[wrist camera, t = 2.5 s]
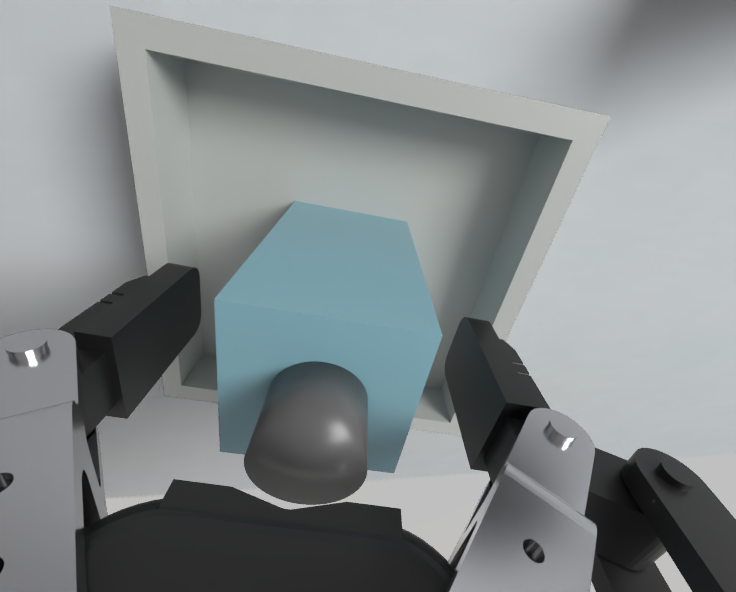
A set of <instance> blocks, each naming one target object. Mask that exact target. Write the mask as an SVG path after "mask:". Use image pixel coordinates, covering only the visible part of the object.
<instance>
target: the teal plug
mask: <svg viewBox="0 0 736 592" xmlns="http://www.w3.org/2000/svg"><path fill="white" fill-rule="evenodd" d="M214 306H215V332H216V358H217V384H218V410H219V437H220V451H221V452H229V453H237V454H245V457H244V467H245V470H246V473H247V475H248V477H249V478H250V479H251V481H252V482H253V483H254V484H255V485H256V486H257V487H258V488H260V489H261V490H262V491H264V492H266V493H267V494H269V495H271V496H273V497H276V498H278V499H281V500H284V501H287V502H292V503H298V504H307V505H316V504H326V503H331V502H335V501H338V500H341V499H344V498H346V497H348V496H350V495H351V494H353V493H354V492H355V491H357V490H358V489H359V488H360V487H361V486H362V484H363V482H364V481H365V478H366V475H367V470H373V471H381V472H389V473H394V471H395V468H396V466H397V463H398V460H399V457H400V454H401V452H402V449H403V446H404V443H405V440H406V437H407V435H408V432H409V429H410V426H411V423H412V420H413V418H414V415H415V412H416V409H417V406H418V404H419V401H420V398H421V395H422V392H423V389H424V387H425V384H426V381H427V378H428V375H429V372H430V370H431V367H432V364H433V361H434V358H435V356H436V353H437V350H438V347H439V344H440V341H441V339H442V336H443V335H442V332H441V329H440V326H439V323H438V319H437V316H436V313H435V310H434V307H433V303H432V300H431V297H430V294H429V291H428V287H427V284H426V281H425V278H424V275H423V271H422V268H421V265H420V262H419V259H418V255H417V252H416V249H415V246H414V243H413V239H412V236H411V233H410V230H409V227H408V223H407V221H401V220H396V219H390V218H385V217H380V216H374V215H369V214H363V213H358V212H353V211H347V210H342V209H337V208H331V207H326V206H320V205H315V204H310V203H304V202H299V201H295V202H294V203H293V204H292V205H291V207H290V208H289V209H288V210H287V211H286V213H285V214H284V215H283V216H282V218H281V219H280V220H279V221H278V222H277V224H276V225H275V226H274V227H273V228H272V230H271V231H270V232H269V233H268V235H267V236H266V237H265V238H264V239H263V241H262V242H261V243H260V244H259V245H258V247H257V248H256V249H255V250H254V252H253V253H252V254H251V255H250V256H249V258H248V259H247V260H246V261H245V262H244V264H243V265H242V266H241V267H240V269H239V270H238V271H237V272H236V273H235V275H234V276H233V277H232V278H231V279H230V281H229V282H228V283H227V284H226V286H225V287H224V288H223V289H222V290H221V292H220V293H219V294H218V295H217V296H216V298H215V299H214Z"/></svg>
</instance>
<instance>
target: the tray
mask: <svg viewBox="0 0 736 592" xmlns="http://www.w3.org/2000/svg"><path fill="white" fill-rule="evenodd" d="M110 12H111V19H112V26H113V33H114V40H115V47H116V54H117V61H118V69H119V76H120V83H121V90H122V97H123V104H124V111H125V118H126V125H127V132H128V139H129V147H130V154H131V161H132V168H133V175H134V182H135V189H136V196H137V203H138V210H139V217H140V225H141V232H142V239H143V246H144V253H145V260H146V267H147V274H148V276H150V275H151V274H153V273H154V272H155V271H157V270H158V269H160V268H161V267H162V266H164V265H165V264H167V263H173V264H179V265H184V266H190V267H195V268H197V269H198V271H199V274H200V293H201V320H200V324H199V327H198V330H197V332H196V333H195V335H194V336H193V337H192V338H191V340H190V341H189V342H188V343H187V345H186V346H185V347H184V348H183V350H182V351H181V352H180V353H179V355H178V356H177V357H176V358H175V360H174V361H173V362H172V363H171V365H170V366H169V367H168V368H167V370H166V371H165V372H164V373H163V374H162V381H163V388H164V395H165V396H169V397H176V398H184V399H191V400H198V401H206V402H213V403H218V384H217V358H216V332H215V306H214V299H215V298H216V296H217V295H218V294H219V293H220V292H221V290H222V289H223V288H224V287H225V286H226V284H227V283H228V282H229V281H230V279H231V278H232V277H233V276H234V275H235V273H236V272H237V271H238V270H239V269H240V267H241V266H242V265H243V264H244V262H245V261H246V260H247V259H248V258H249V256H250V255H251V254H252V253H253V252H254V250H255V249H256V248H257V247H258V245H259V244H260V243H261V242H262V241H263V239H264V238H265V237H266V236H267V235H268V233H269V232H270V231H271V230H272V228H273V227H274V226H275V225H276V224H277V222H278V221H279V220H280V219H281V218H282V216H283V215H284V214H285V213H286V211H287V210H288V209H289V208H290V207H291V205H292V204H293V203H294V202H295V201H299V202H304V203H310V204H315V205H320V206H326V207H331V208H337V209H342V210H347V211H353V212H358V213H363V214H369V215H374V216H380V217H385V218H390V219H396V220H401V221H407V223H408V227H409V230H410V233H411V236H412V239H413V243H414V246H415V249H416V252H417V255H418V259H419V262H420V265H421V268H422V271H423V275H424V278H425V281H426V284H427V287H428V291H429V294H430V297H431V300H432V303H433V307H434V310H435V313H436V316H437V319H438V323H439V326H440V329H441V332H442V335H443V336H442V339H441V341H440V344H439V347H438V350H437V353H436V356H435V358H434V361H433V364H432V367H431V370H430V372H429V375H428V378H427V381H426V384H425V387H424V389H423V392H422V395H421V398H420V401H419V404H418V406H417V409H416V412H415V415H414V418H413V420H412V423H411V426H410V429H412V430H419V431H427V432H434V433H441V434H449V435H456V436H462V435H461V432H460V428H459V424H458V421H457V417H456V413H455V410H454V406H453V402H452V399H451V395H450V392H449V388H448V384H447V381H446V377H445V361H446V357H447V354H448V351H449V349H450V346H451V344H452V341H453V338H454V336H455V333H456V331H457V328H458V326H459V323H460V321H461V320H462V318H463V317H469V318H475V319H480V320H486V321H489V322H490V323H491V325H492V327H493V328H494V330H495V332H496V334H497V336H498V337H499V339H503V340H504V341H505V342H506V340H507V337H508V335H509V333H510V331H511V329H512V327H513V325H514V322H515V320H516V318H517V316H518V314H519V312H520V310H521V307H522V305H523V303H524V301H525V299H526V297H527V295H528V293H529V290H530V288H531V286H532V284H533V282H534V280H535V278H536V275H537V273H538V271H539V269H540V267H541V265H542V263H543V260H544V258H545V256H546V254H547V252H548V250H549V248H550V245H551V243H552V241H553V239H554V237H555V235H556V233H557V231H558V228H559V226H560V224H561V222H562V220H563V218H564V216H565V213H566V211H567V209H568V207H569V205H570V203H571V201H572V198H573V196H574V194H575V192H576V190H577V188H578V186H579V184H580V181H581V179H582V177H583V175H584V173H585V171H586V169H587V166H588V164H589V162H590V160H591V158H592V156H593V154H594V151H595V149H596V147H597V145H598V143H599V141H600V139H601V136H602V134H603V132H604V130H605V128H606V126H607V124H608V122H609V119H610V116H606V115H601V114H597V113H592V112H588V111H583V110H579V109H574V108H570V107H565V106H561V105H556V104H552V103H547V102H543V101H538V100H534V99H529V98H525V97H520V96H516V95H511V94H507V93H502V92H497V91H493V90H488V89H484V88H479V87H475V86H470V85H466V84H461V83H457V82H452V81H448V80H443V79H439V78H434V77H430V76H425V75H421V74H416V73H412V72H407V71H403V70H398V69H394V68H389V67H385V66H380V65H376V64H371V63H366V62H362V61H357V60H353V59H348V58H344V57H339V56H335V55H330V54H326V53H321V52H317V51H312V50H308V49H303V48H299V47H294V46H290V45H285V44H281V43H276V42H272V41H267V40H263V39H258V38H254V37H249V36H245V35H240V34H235V33H231V32H226V31H222V30H217V29H213V28H208V27H204V26H199V25H195V24H190V23H186V22H181V21H177V20H172V19H168V18H163V17H159V16H154V15H150V14H145V13H141V12H136V11H132V10H127V9H123V8H118V7H114V6H110Z"/></svg>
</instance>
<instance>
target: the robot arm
mask: <svg viewBox="0 0 736 592" xmlns="http://www.w3.org/2000/svg"><path fill="white" fill-rule="evenodd" d="M200 320H201V293H200V274H199V271H198V269H197V268H195V267H190V266H184V265H179V264H173V263H167V264H165V265H164V266H162V267H161V268H160V269H158V270H157V271H155V272H154V273H153V274H151V275H150V276H143V277H140V278H138V279H135V280H132V281H129V282H126V283H125V284H123V285H122V286H120V287H119V288H117V289H116V290H114V291H113V292H112V294H109V295H107V296H106V297H104V298H103V299H101V301H100V303H99V302H97V303H96V304H94V305H93V306H91V307H90V308H88V309H87V310H85V311H84V312H82V313H81V314H80V315H78V316H77V317H75V318H74V319H72V320H71V321H69V322H68V323H67V324H65V325H64V326H62V327H61V328H59V329H58V330H56V329H37V330H29V331H23V332H19V333H15V334H12V335H9V336H6V337H3V338H1V339H0V592H590V585H591V581H592V583H593V586H594V588H595V590H596V592H671V590H670V588H669V587H668V585H667V583H666V581H665V580H664V578H663V576H662V574H661V573H660V571H659V569H658V568H657V566H656V564H655V563H654V561H655V560H657V559H658V558H659V557H660V556H661V555H663V554H664V553H665V552H666V551H667V552H668V553H669V555H670V556H671V558H672V559H673V561H674V563H675V564H676V566H677V568H678V569H679V571H680V572H681V574H682V576H683V577H684V579H685V580H686V582H687V583H688V585H689V587H690V588H691V590H692V592H736V519H735V518H734V517H733V516H732V515H731V514H730V512H729V511H728V510H727V509H726V508H725V507H724V505H723V504H722V503H721V502H720V500H719V499H718V498H717V497H716V496H715V495H714V493H713V492H712V491H711V490H710V489H709V488H708V486H707V485H706V484H705V483H704V482H703V481H702V480H701V479H700V478H699V477H698V476H697V475H696V474H695V473H694V472H693V471H692V470H690V469H689V468H688V467H687V466H685V465H684V464H682V463H681V462H679V461H678V460H676V459H675V458H673V457H671V456H669V455H667V454H665V453H663V452H660V451H658V450H654V449H650V448H641V449H638V450H637V451H636V452H635V453H634V454H633V455H632V457H631V458H630V459H629V460H628V461H627V460H625V459H622V458H620V457H617V456H615V455H612V454H610V453H607V452H605V451H602V450H600V449H597V448H595V447H594V444H593V441H592V440H591V438H590V436H589V435H588V434H587V432H586V431H585V430H584V429H583V428H582V427H581V426H580V425H579V424H577V423H576V422H575V421H573V420H572V419H571V418H569V417H567V416H566V415H564V414H562V413H560V412H557V411H555V410H552V409H550V408H549V406H548V404H547V403H546V401H545V399H544V397H543V396H542V394H541V392H540V391H539V389H538V387H537V386H536V384H535V382H534V381H533V379H532V377H531V376H529V372H528V371H527V369H526V367H525V366H524V365H523V362H522V361H521V359H520V357H519V356H518V354H517V352H516V351H515V350H514V349H513V348H512V347H511V346H510V345H509V344H507V343H506V342H505V341H504V340H503V339H499V337H498V336H497V334H496V332H495V330H494V328H493V327H492V325H491V323H490V322H489V321H486V320H480V319H475V318H469V317H463V318H462V320H461V321H460V323H459V326H458V328H457V331H456V333H455V336H454V338H453V341H452V344H451V346H450V349H449V351H448V354H447V357H446V361H445V377H446V381H447V384H448V388H449V392H450V395H451V399H452V402H453V406H454V410H455V413H456V417H457V421H458V424H459V428H460V432H461V435H462V439H463V442H464V446H465V450H466V453H467V457H468V461H469V464H470V468H471V469H474V470H481V471H488V473H489V476H490V481H489V482H488V484H487V486H486V487H485V489H484V492H483V493H482V496H481V498H480V499H479V501H478V503H477V506H476V507H475V509H474V511H473V513H472V516H471V517H470V519H469V521H468V523H467V525H466V527H465V529H464V531H463V533H462V535H461V537H460V539H459V541H458V543H457V545H456V547H455V549H454V551H453V553H452V555H451V556H450V558H449V560H448V561H447V560H446V559H445V558H444V557H443V556H442V555H441V554H439V552H437V551H436V550H435V549H434V548H433V547H431V546H430V545H429V544H428V543H426V542H425V541H424V540H422V539H421V538H419V537H417V536H416V535H414V534H412V533H410V532H409V531H406V530H404V529H402V521H401V509H398V508H390V507H382V506H375V505H367V504H359V503H351V502H343V503H336V504H329V505H322V506H315V507H307V508H300V509H293V510H288V509H283V508H280V507H277V506H275V505H273V504H271V503H268V502H266V501H264V500H261V499H259V498H256V497H254V496H251V495H249V494H247V493H245V492H243V491H240V490H238V489H236V488H233V487H229V486H221V485H214V484H206V483H198V482H191V481H183V480H175V479H174V480H173V481H172V483H171V485H170V487H169V489H168V491H167V492H166V494H165V496H164V498H163V499H159V500H154V501H149V502H145V503H141V504H137V505H134V506H131V507H128V508H125V509H122V510H120V511H117V512H115V513H113V514H111V515H108V513H107V508H106V501H105V492H104V481H103V470H102V460H101V449H100V438H99V431H98V427H97V425H98V424H99V423H100V422H101V420H102V419H103V418H104V417H105V416H112V417H119V418H126V419H127V418H128V417H129V416H130V414H131V413H132V412H133V411H134V409H135V408H136V407H137V406H138V404H139V403H140V402H141V401H142V399H143V398H144V397H145V396H146V394H147V393H148V392H149V391H150V389H151V388H152V387H153V386H154V384H155V383H156V382H157V381H158V379H159V378H160V377H161V376H162V374H163V373H164V372H165V371H166V370H167V368H168V367H169V366H170V365H171V363H172V362H173V361H174V360H175V358H176V357H177V356H178V355H179V353H180V352H181V351H182V350H183V348H184V347H185V346H186V345H187V343H188V342H189V341H190V340H191V338H192V337H193V336H194V335H195V333H196V332H197V330H198V327H199V324H200Z"/></svg>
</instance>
